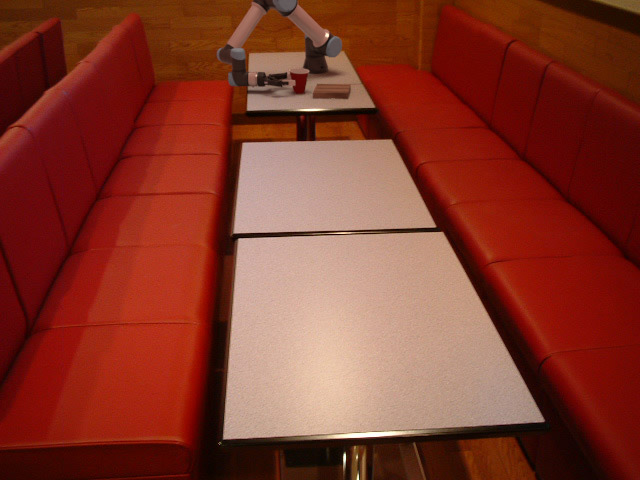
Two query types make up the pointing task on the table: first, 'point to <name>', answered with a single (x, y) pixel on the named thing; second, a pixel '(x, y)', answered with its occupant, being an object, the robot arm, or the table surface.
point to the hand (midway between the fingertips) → (297, 79)
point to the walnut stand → (332, 91)
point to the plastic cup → (299, 79)
